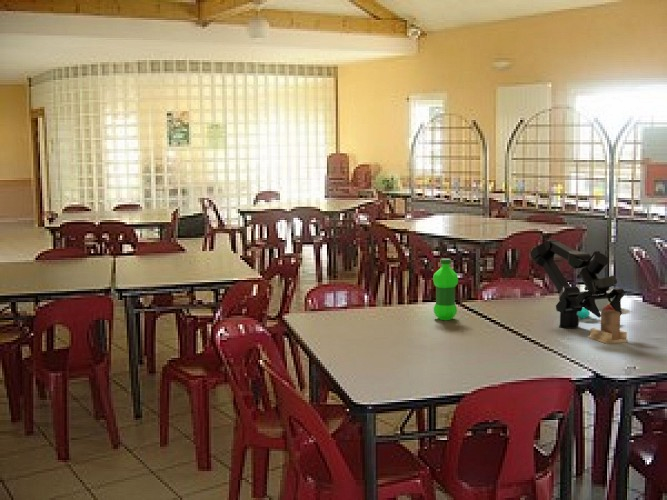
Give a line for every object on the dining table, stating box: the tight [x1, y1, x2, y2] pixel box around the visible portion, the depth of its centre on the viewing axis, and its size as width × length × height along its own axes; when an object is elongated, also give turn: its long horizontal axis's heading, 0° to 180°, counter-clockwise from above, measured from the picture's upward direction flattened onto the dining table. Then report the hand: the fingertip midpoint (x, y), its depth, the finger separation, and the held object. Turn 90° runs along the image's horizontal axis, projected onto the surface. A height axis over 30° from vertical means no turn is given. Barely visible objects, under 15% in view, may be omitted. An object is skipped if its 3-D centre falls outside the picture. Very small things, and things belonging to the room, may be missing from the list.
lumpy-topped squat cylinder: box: [595, 287, 614, 312], centre depth 347 cm, size 10×13×9 cm
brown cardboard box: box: [600, 309, 621, 340], centre depth 289 cm, size 6×4×10 cm, turn 20°
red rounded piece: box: [602, 303, 615, 311], centre depth 318 cm, size 6×6×8 cm
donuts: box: [577, 307, 591, 319], centre depth 331 cm, size 10×10×10 cm
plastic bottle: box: [432, 257, 459, 321], centre depth 327 cm, size 10×10×25 cm
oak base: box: [588, 327, 629, 345], centre depth 291 cm, size 10×9×4 cm
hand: (610, 315), depth 289 cm, fingers open, 9 cm apart
